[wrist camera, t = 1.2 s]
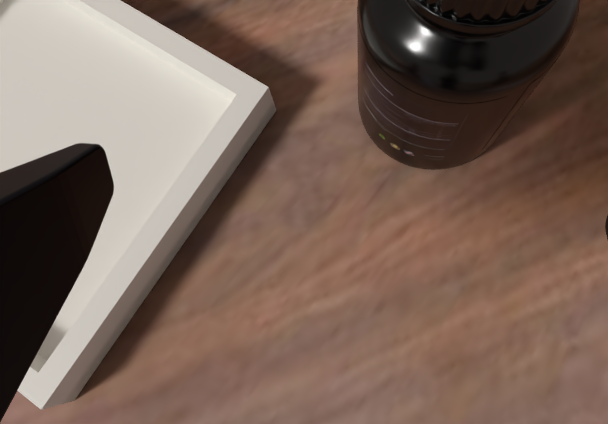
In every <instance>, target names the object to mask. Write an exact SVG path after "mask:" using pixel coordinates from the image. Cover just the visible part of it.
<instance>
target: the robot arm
mask: <svg viewBox="0 0 608 424" xmlns="http://www.w3.org/2000/svg"><path fill="white" fill-rule="evenodd" d="M113 192H114V183H113V178H112V175H111V171H110V167H109V163H108V160H107V156H106V153H105V150H104V148H103V147H102V146H100V145H99V144H90V143H77V144H74V145H72V146H69V147H66V148H64V149H61V150H58V151H56V152H53V153H50V154H48V155H45V156H43V157H40V158H37V159H35V160H32V161H29V162H27V163H24V164H22V165H19V166H16V167H14V168H11V169H8V170H6V171H3V172H0V422H1V420H2V418H3V416H4V414H5V412H6V411H7V409H8V407H9V405H10V403H11V401H12V399H13V398H14V396H15V394H16V392H17V390H18V388H19V386H20V385H21V383H22V381H23V379H24V377H25V375H26V373H27V372H28V370H29V368H30V366H31V364H32V362H33V360H34V359H35V357H36V355H37V353H38V351H39V349H40V347H41V345H42V344H43V342H44V340H45V338H46V336H47V334H48V332H49V331H50V329H51V327H52V325H53V323H54V321H55V319H56V318H57V316H58V314H59V312H60V310H61V308H62V306H63V305H64V303H65V301H66V299H67V297H68V295H69V293H70V292H71V290H72V288H73V286H74V284H75V282H76V280H77V279H78V277H79V275H80V273H81V271H82V269H83V267H84V265H85V263H86V261H87V259H88V257H89V254H90V252H91V250H92V247H93V245H94V242H95V240H96V237H97V235H98V232H99V229H100V227H101V224H102V222H103V219H104V217H105V214H106V212H107V209H108V207H109V204H110V201H111V199H112V196H113ZM605 228H606V235H607V239H608V216H607V219H606V225H605Z"/></svg>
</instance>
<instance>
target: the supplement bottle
mask: <svg viewBox="0 0 608 424" xmlns="http://www.w3.org/2000/svg"><path fill="white" fill-rule="evenodd" d="M579 4H580V0H358V7H357V25H358V103H359V111H360V115H361V119H362V122H363V125H364V127H365V129H366V131H367V133H368V134H369V136H370V138H371V139H372V140H373V142H374V143H375V144H376V145H377V146H378V147H379V148H380V149H381V150H382V151H383V152H384V153H386V154H387V155H388V156H390V157H391V158H393V159H395V160H397V161H399V162H401V163H403V164H406V165H408V166H412V167H416V168H421V169H431V170H435V169H447V168H452V167H456V166H459V165H462V164H464V163H467V162H469V161H471V160H473V159H474V158H476V157H477V156H479V155H480V154H482V153H483V152H484V151H485V150H486V149H488V148H489V147H490V146H491V145H492V144H493V143H494V141H495V140H496V139H497V138H498V136H499V135H500V134H501V133H502V132H503V130H504V129H505V128H506V126H507V125H508V124H509V122H510V121H511V120H512V118H513V117H514V116H515V114H516V113H517V112H518V110H519V109H520V108H521V107H522V105H523V104H524V103H525V101H526V100H527V99H528V97H529V96H530V95H531V93H532V92H533V91H534V89H535V88H536V87H537V85H538V84H539V83H540V81H541V80H542V79H543V77H544V76H545V75H546V73H547V72H548V71H549V70H550V68H551V67H552V66H553V64H554V63H555V62H556V60H557V59H558V57H559V56H560V54H561V53H562V51H563V49H564V48H565V46H566V45H567V43H568V41H569V39H570V37H571V35H572V33H573V30H574V27H575V24H576V21H577V16H578V12H579Z"/></svg>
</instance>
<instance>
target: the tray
mask: <svg viewBox="0 0 608 424" xmlns="http://www.w3.org/2000/svg"><path fill="white" fill-rule="evenodd" d="M276 111H277V110H276V107H275V104H274V101H273V98H272V95H271V93H270V90H269V87H268V86H266V85H264V84H262V83H261V82H259V81H257V80H256V79H254V78H252V77H250V76H249V75H247V74H245V73H244V72H242V71H240V70H239V69H237V68H235V67H233V66H232V65H230V64H228V63H227V62H225V61H223V60H221V59H220V58H218V57H216V56H215V55H213V54H211V53H210V52H208V51H206V50H204V49H203V48H201V47H199V46H198V45H196V44H194V43H192V42H191V41H189V40H187V39H186V38H184V37H182V36H181V35H179V34H177V33H175V32H174V31H172V30H170V29H169V28H167V27H165V26H163V25H162V24H160V23H158V22H157V21H155V20H153V19H151V18H150V17H148V16H146V15H145V14H143V13H141V12H140V11H138V10H136V9H134V8H133V7H131V6H129V5H128V4H126V3H124V2H122V1H121V0H0V172H3V171H6V170H8V169H11V168H14V167H16V166H19V165H22V164H24V163H27V162H29V161H32V160H35V159H37V158H40V157H43V156H45V155H48V154H50V153H53V152H56V151H58V150H61V149H64V148H66V147H69V146H72V145H74V144H77V143H90V144H99V145H100V146H102V147H103V148H104V150H105V153H106V156H107V160H108V163H109V167H110V171H111V175H112V178H113V183H114V192H113V196H112V199H111V201H110V204H109V207H108V209H107V212H106V214H105V217H104V219H103V222H102V224H101V227H100V229H99V232H98V235H97V237H96V240H95V242H94V245H93V247H92V250H91V252H90V254H89V257H88V259H87V261H86V263H85V265H84V267H83V269H82V271H81V273H80V275H79V277H78V279H77V280H76V282H75V284H74V286H73V288H72V290H71V292H70V293H69V295H68V297H67V299H66V301H65V303H64V305H63V306H62V308H61V310H60V312H59V314H58V316H57V318H56V319H55V321H54V323H53V325H52V327H51V329H50V331H49V332H48V334H47V336H46V338H45V340H44V342H43V344H42V345H41V347H40V349H39V351H38V353H37V355H36V357H35V359H34V360H33V362H32V364H31V366H30V368H29V370H28V372H27V373H26V375H25V377H24V379H23V381H22V383H21V385H20V386H19V388H18V390H17V391H19V392H20V393H21V394H22V395H24V396H25V397H26V398H27V399H29V400H30V401H31V402H32V403H33V404H35V405H36V406H37V407H38V408H40V409H41V410H42V409H46V408H49V407H53V406H57V405H60V404H64V403H68V402H71V401H74V400H75V399H76V397H77V396H78V394H79V393H80V392H81V390H82V389H83V387H84V386H85V384H86V383H87V382H88V380H89V379H90V377H91V376H92V374H93V373H94V372H95V370H96V369H97V367H98V366H99V364H100V363H101V361H102V360H103V359H104V357H105V356H106V354H107V353H108V351H109V350H110V349H111V347H112V346H113V344H114V343H115V341H116V340H117V339H118V337H119V336H120V334H121V333H122V331H123V330H124V329H125V327H126V326H127V324H128V323H129V321H130V320H131V318H132V317H133V316H134V314H135V313H136V311H137V310H138V308H139V307H140V306H141V304H142V303H143V301H144V300H145V298H146V297H147V296H148V294H149V293H150V291H151V290H152V288H153V287H154V285H155V284H156V283H157V281H158V280H159V278H160V277H161V275H162V274H163V273H164V271H165V270H166V268H167V267H168V265H169V264H170V263H171V261H172V260H173V258H174V257H175V255H176V254H177V253H178V251H179V250H180V248H181V247H182V245H183V244H184V242H185V241H186V240H187V238H188V237H189V235H190V234H191V232H192V231H193V230H194V228H195V227H196V225H197V224H198V222H199V221H200V220H201V218H202V217H203V215H204V214H205V212H206V211H207V209H208V208H209V207H210V205H211V204H212V202H213V201H214V199H215V198H216V197H217V195H218V194H219V192H220V191H221V189H222V188H223V187H224V185H225V184H226V182H227V181H228V179H229V178H230V177H231V175H232V174H233V172H234V171H235V169H236V168H237V166H238V165H239V164H240V162H241V161H242V159H243V158H244V156H245V155H246V154H247V152H248V151H249V149H250V148H251V146H252V145H253V144H254V142H255V141H256V139H257V138H258V136H259V135H260V133H261V132H262V131H263V129H264V128H265V126H266V125H267V123H268V122H269V121H270V119H271V118H272V116H273V115H274V113H275V112H276Z"/></svg>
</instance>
